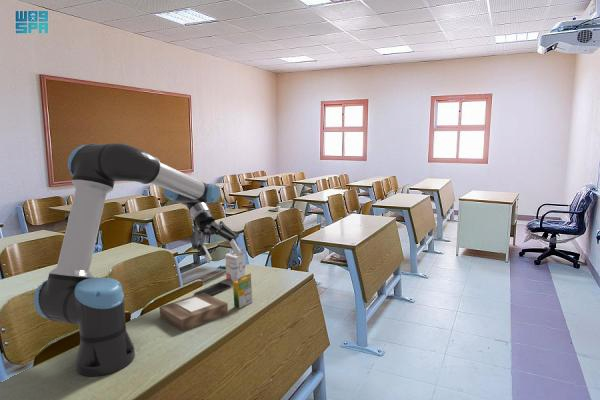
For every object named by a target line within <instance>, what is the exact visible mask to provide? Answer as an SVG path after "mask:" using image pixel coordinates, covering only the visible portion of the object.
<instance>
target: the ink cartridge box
mask: <svg viewBox="0 0 600 400" xmlns="http://www.w3.org/2000/svg"><path fill="white" fill-rule="evenodd" d="M239 249H240V251H241V252H240V254H239V255H236V253H235V252H234V250H233V249H232V251H231V252H229V253H226V254H225V255H224V257H225V258H224V259H225V274H226V275H225V277H226V279H227V280H229V281H232V282H235V281H237V280H238V278H240V277H243V276H245V275H246V261H245V260H246V259H245V252H244V251H245V250H244V249H243V248H241V247H239Z"/></svg>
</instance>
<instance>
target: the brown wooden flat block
mask: <svg viewBox="0 0 600 400" xmlns="http://www.w3.org/2000/svg"><path fill="white" fill-rule="evenodd" d="M228 305H229V304H228V303H227V302H225V301H223V300H220V299H219V298H217V297H214V296H210V295H208V294H206V293H201V294H198V295H195V296H194V295H192V296H190V297H185V298H182V299H179V300H176V301H173V302H170V303H167V304H164V305H161V306H159V317H160V318H161V319H162V320H164V321H166V323H169V324H170V325H171V326H173V327H175V328H176V329H178V330H180V331H181V332H184V331H186V330H187V331H188V330H190V329H192V328H195V327H198V326H200V325H203V324H205V323H208V322H210V321H213V320H216V319H219V318H222V317H224V316H227V315H228V314H229V306H228Z"/></svg>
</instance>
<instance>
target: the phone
mask: <svg viewBox="0 0 600 400" xmlns="http://www.w3.org/2000/svg"><path fill="white" fill-rule="evenodd" d="M230 289H232V285H231V284H227V283H223V282H217V283H216V284H213V285H211V286H209V287H205V288H203V289H200V290H198V291H196V292H193V296H195V295H198V294H201V293H206V294H208V295H210V296H212V297H214V296H216V295H219V294H221V293H223V292H225V291H227V290H230Z"/></svg>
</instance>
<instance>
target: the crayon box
mask: <svg viewBox="0 0 600 400" xmlns="http://www.w3.org/2000/svg"><path fill="white" fill-rule="evenodd" d="M252 286H253V285H252V273H248V274H245V276H243V277H240V278H238V280H237V281H235V282H234V281H232V292H233V306H234V308H237V309H241V308H243V307H245V306H247V305H249V304H251V303H253V289H252Z"/></svg>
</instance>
